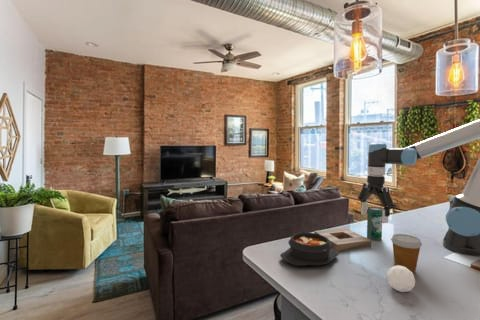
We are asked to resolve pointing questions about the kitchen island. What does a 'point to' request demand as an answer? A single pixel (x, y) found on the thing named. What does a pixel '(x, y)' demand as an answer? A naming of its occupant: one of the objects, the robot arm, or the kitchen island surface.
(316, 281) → the kitchen island surface
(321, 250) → the casserole
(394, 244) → the disposable coffee cup
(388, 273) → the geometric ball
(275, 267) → the kitchen island surface
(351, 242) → the frame
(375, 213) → the can
